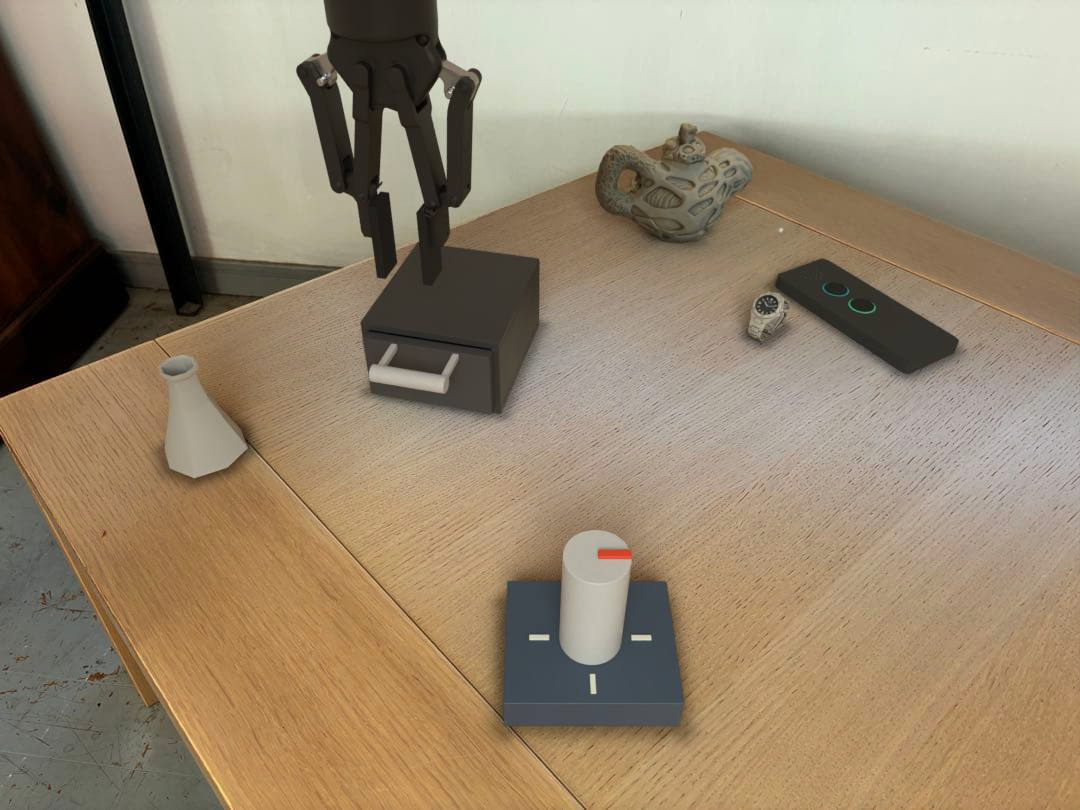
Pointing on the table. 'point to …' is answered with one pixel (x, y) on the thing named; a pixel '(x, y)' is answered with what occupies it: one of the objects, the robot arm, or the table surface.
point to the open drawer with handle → (430, 371)
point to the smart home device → (867, 315)
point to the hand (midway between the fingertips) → (409, 273)
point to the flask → (196, 423)
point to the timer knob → (593, 596)
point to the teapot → (673, 185)
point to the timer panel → (590, 690)
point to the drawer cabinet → (466, 307)
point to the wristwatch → (767, 315)
